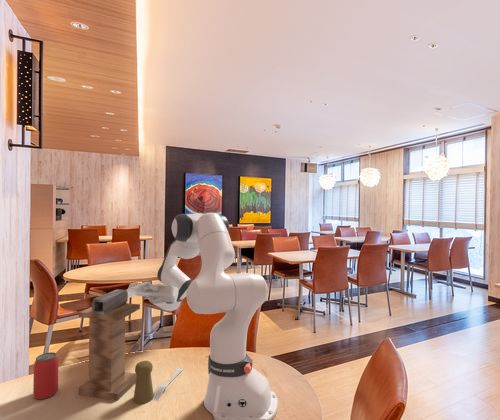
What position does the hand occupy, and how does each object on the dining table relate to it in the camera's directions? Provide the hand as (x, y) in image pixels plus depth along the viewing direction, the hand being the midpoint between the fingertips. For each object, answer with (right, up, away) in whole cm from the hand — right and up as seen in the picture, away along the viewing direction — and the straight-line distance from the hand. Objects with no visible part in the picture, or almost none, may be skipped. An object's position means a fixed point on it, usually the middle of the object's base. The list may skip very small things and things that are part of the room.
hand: (144, 285), depth 123 cm
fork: (+14, -30, -18) cm, 37 cm away
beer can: (-23, -29, -25) cm, 44 cm away
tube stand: (-5, -29, -20) cm, 35 cm away
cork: (+8, -29, -26) cm, 40 cm away
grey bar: (-2, -2, -7) cm, 7 cm away
